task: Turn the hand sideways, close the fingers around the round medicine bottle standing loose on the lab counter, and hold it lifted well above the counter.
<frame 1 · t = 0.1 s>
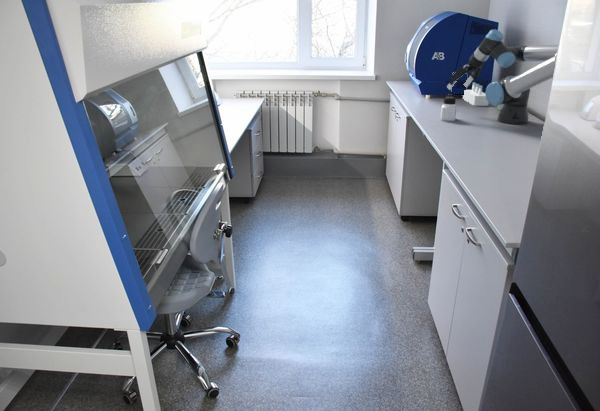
hand: (456, 87, 272), 15 cm above the worktop, tool tilted 35°, fingers open, 13 cm apart
medicine bottle: (447, 119, 266), on the worktop
ink box: (504, 110, 287), on the worktop
tube rack: (475, 102, 309), on the worktop
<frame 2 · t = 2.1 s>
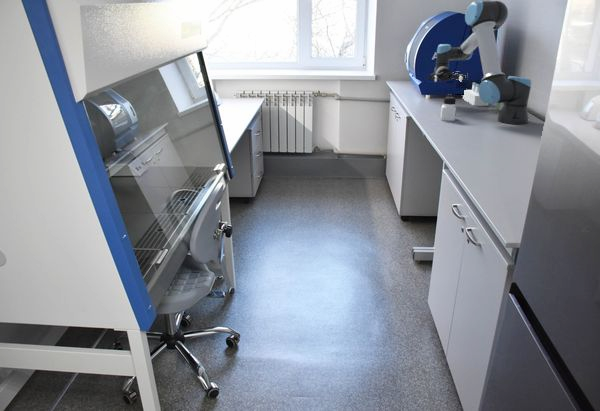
hand: (449, 79, 267), 20 cm above the worktop, tool horizontal, fingers open, 13 cm apart
nothing on the worktop moved.
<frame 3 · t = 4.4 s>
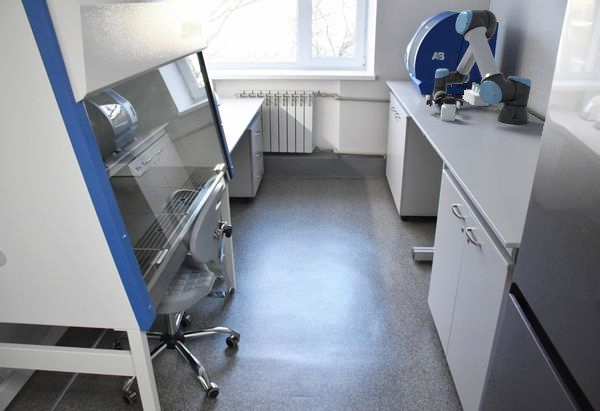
hand: (446, 105, 269), 6 cm above the worktop, tool horizontal, fingers open, 13 cm apart
nothing on the worktop moved.
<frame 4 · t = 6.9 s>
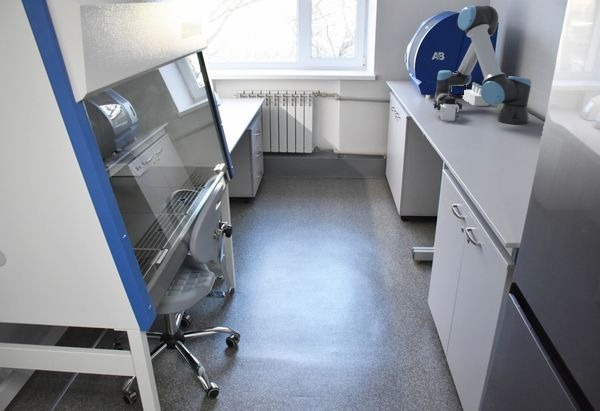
hand: (450, 109, 259), 7 cm above the worktop, tool horizontal, fingers closed on medicine bottle, 7 cm apart
medicine bottle: (447, 119, 266), on the worktop, touching gripper
everything else where it was.
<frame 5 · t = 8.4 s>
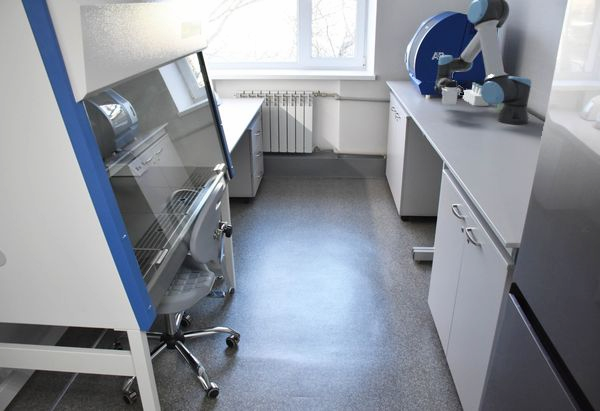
hand: (451, 92, 256), 15 cm above the worktop, tool horizontal, fingers closed on medicine bottle, 7 cm apart
medicine bottle: (449, 103, 263), point 9 cm above the worktop, touching gripper
everything else where it was.
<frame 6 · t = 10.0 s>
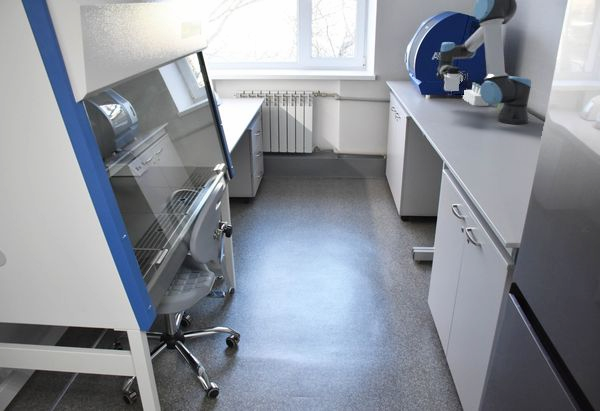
hand: (453, 78, 256), 22 cm above the worktop, tool horizontal, fingers closed on medicine bottle, 7 cm apart
medicine bottle: (451, 90, 263), point 15 cm above the worktop, touching gripper
everything else where it was.
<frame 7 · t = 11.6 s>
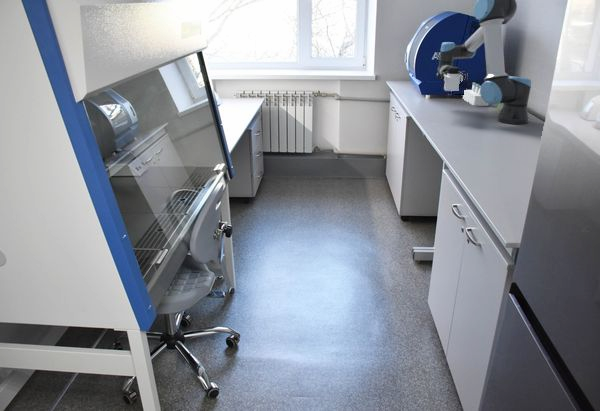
hand: (453, 78, 256), 22 cm above the worktop, tool horizontal, fingers closed on medicine bottle, 7 cm apart
medicine bottle: (451, 90, 263), point 15 cm above the worktop, touching gripper
everything else where it was.
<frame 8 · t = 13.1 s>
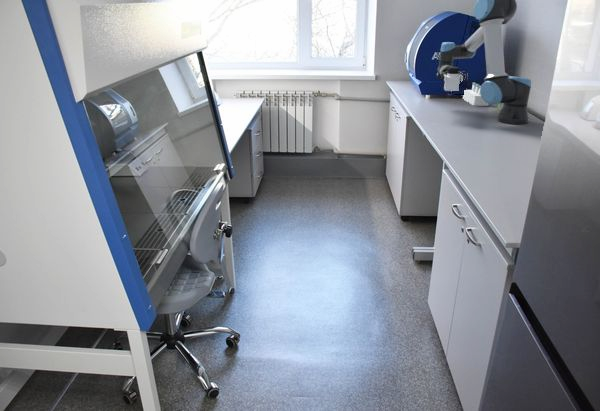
hand: (453, 78, 256), 22 cm above the worktop, tool horizontal, fingers closed on medicine bottle, 7 cm apart
medicine bottle: (451, 90, 263), point 15 cm above the worktop, touching gripper
everything else where it was.
at the end: the gripper is holding medicine bottle; medicine bottle point 15.2 cm above the worktop; medicine bottle touching gripper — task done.
